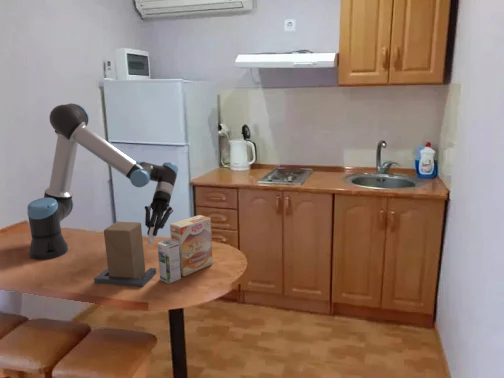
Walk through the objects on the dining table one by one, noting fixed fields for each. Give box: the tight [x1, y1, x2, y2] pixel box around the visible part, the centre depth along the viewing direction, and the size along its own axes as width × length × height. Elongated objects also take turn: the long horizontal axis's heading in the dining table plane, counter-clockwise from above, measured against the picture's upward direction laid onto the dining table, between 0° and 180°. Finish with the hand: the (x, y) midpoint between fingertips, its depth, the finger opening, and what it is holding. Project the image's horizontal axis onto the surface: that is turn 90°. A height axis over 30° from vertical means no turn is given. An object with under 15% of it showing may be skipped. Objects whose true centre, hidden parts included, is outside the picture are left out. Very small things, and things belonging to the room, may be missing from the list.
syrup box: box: [157, 238, 182, 285], centre depth 153 cm, size 6×6×14 cm
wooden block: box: [103, 221, 146, 278], centre depth 156 cm, size 10×10×20 cm
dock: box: [93, 267, 157, 288], centre depth 157 cm, size 19×12×2 cm, turn 78°
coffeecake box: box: [169, 214, 213, 277], centre depth 162 cm, size 15×7×20 cm, turn 137°
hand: (149, 242), depth 176 cm, fingers closed
